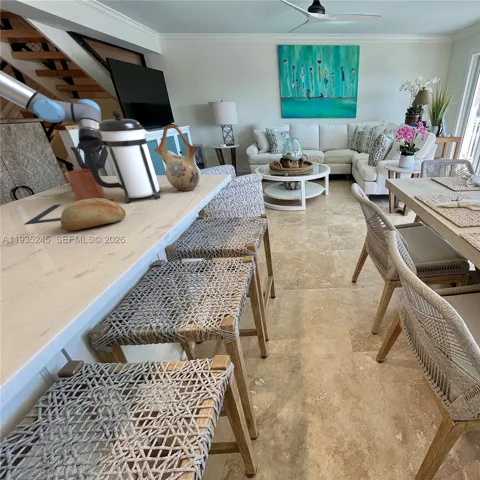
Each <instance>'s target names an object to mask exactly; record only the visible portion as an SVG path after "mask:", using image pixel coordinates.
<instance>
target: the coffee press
mask: <svg viewBox="0 0 480 480" xmlns="http://www.w3.org/2000/svg"><path fill="white" fill-rule="evenodd" d="M112 116H113V117H114V118H110V119H103V120H101V122H100V123H99V128H98V131H99V132H100V133H101V135H102V141H92V142H90V143H88V144H87V145H86V146H85V149H84V152H83V155H84V154H85V158H86V160H87V163H88V166H89V168H90V171H91V173H92V175H93V178H94V179H95V181H96V182H97V183H98V184H99V185H100V186H102V187H103V188H106V189H116V188H118V189H120V190H121V192H122V194H123V196H124V200H123V201H124V203H126V204H131V203H132V201H133V199H138V198H146V197H150V196H151V197H153V198H154V199H155V200H159V199H161V195H160V194H159V193H160V192H161V189H160V185H159V181H158V178H157V175H156V171H155V168H154V164H153V161H152V158H151V154H150V151H149V147H148V142H147V138H146V137H145V136H150V132H149V131H147V130H146V129H144V126H143V125H142V124H141V123H140V122H139V121H138V120H136V119H133V118H122V117H121V116H122V113H121V112H120V111H119V110H116V109H115V110H113V111H112ZM103 145H104V146H106V149H107V151H108V157H109V159H110V162H111V165H112V168H113V171H114V173H115V176H116V179H117V181H118V182H106V181H104V180H103V179H102V177H101V176H100V172H99V173H98V171H97V168H96V165H95V163H94V160H93V158H92V155H91V150H92V148H93V147H96V146H103Z"/></svg>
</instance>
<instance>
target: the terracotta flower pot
mask: <svg viewBox="0 0 480 480" xmlns="http://www.w3.org/2000/svg"><path fill="white" fill-rule="evenodd" d="M64 175H65V177H66V179H67V181H68V183H69V186H70V187H71V190H72V192H73V194H74V197H75V199H76V201H79V200H83V199H90V198H102V199H104V198H105V197H106V195H107V194H106V192H105V190H104V187H102V186H100V185H99V184H98V183H97V182H96V181H95V179H94V178H93V175H92V173H91V171H90V169H82V168H81V169H74V170H69V171H66V172H64Z"/></svg>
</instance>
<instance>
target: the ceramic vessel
mask: <svg viewBox="0 0 480 480" xmlns="http://www.w3.org/2000/svg"><path fill="white" fill-rule="evenodd" d="M169 129H174V130H176V131H177V133H178V135H179V136H180V138H181V140H182V142H183V144H184V148H185V155H184V156H183V157H182V158H176V157H174V156H172V155H171V154H170V152H169V151H168V146H167V135H168V134H167V133H168V130H169ZM199 150H200V148H199V147H198V146H196V145H192V144H190V143H189V142H188V140H187V138H186V137H185V135H184V134H183V132H182V130H181V129H180V128H179V127H178V126H177V125H174V124H168V125H165V126H164V128H163V132H162V136H161V140H160V143H159V145H158V147H157V148H154V149H153V151H154V152H155V153H157V154H158V155H159V156H160V157H161V158H162V159H163V160H164V162H165V176H166V178H167V181H168V182H169V184H170V185H171V186H172V187H173V188H174V189H176V190H178V191H180V192H189V191H193V190H195V189H196V187H198V185H199V182H200V173H199V170H198V169H199V168H198V167H197V166H196V164H195V156H196V154H197V153H198V151H199Z"/></svg>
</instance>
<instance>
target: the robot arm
mask: <svg viewBox="0 0 480 480" xmlns="http://www.w3.org/2000/svg"><path fill="white" fill-rule="evenodd" d="M0 97H2V98H4V99H6V100H8V101H9V102H12V103H14V104H15V105H16V106H19V107H21V108H23V109H25V110H27V111H28V112H30V113H32V114H33V115H36V117H37V118H39V120H42V121H44V122H46V123H51V124H54V123H55V124H56V123H60V122H68V123H75V124H77V130H78V131H77V132H78V133H77V135H78V136H77V137H78V143H77V145H76V146H75V147H73V146H71V147H70V150H71V151H72V152H73V154H74V157H75V159H76V161H77V164H78V167H80V168H81V169H90V168H89V166H88V163H87V160H86V158H85V154H84V149H85V146H86V145H87V144H88V143H90V142H92V141H103V137H102V135H101V133H100V132H99V131H98V128H99V123H100V122H101V121H102V113H101V108H100V105H99V104H97V103H96V102H95V101H94V100H91V99H87V98H84V99H79V100H78V101H77V103H74V102H67V101H61V100H56V99H51V98H49V97H48V96H46V95H44V94H42V93H40V92H38V91H37V90H35V89H33V88H31V87H30V86H28V85H26V84H25V83H23V82H21V81H19V80H18V79H16V78H14V77H12V76H11V75H9V74H7V73H5V72H4V71H2V70H0ZM81 151H82V152H83V157H82V154H81ZM91 155H92V158H93V160H94V163H95V165H96V168H97V171H98V173H99V174H100V171H99V170H101V169H103V170H104V169H105V167H106V163H107V158H108V157H109V154H108V151H107V149H106V146H104V145H103V146H96V147H93V148H92V150H91Z"/></svg>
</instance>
